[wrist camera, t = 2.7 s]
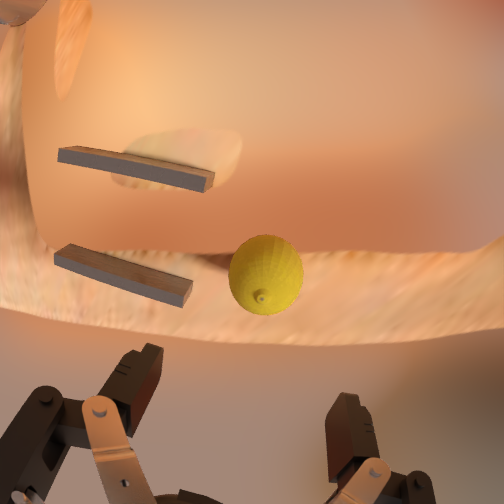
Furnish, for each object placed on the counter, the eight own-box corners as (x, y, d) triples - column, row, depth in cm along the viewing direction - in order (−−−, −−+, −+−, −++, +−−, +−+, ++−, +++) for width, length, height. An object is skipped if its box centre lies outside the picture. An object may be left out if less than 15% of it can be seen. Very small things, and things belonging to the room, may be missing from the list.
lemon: (294, 217, 26) (298, 251, 19) (305, 277, 28) (311, 328, 20) (230, 230, 27) (208, 267, 19) (245, 287, 29) (231, 339, 21)
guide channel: (77, 145, 25) (58, 148, 23) (215, 172, 25) (206, 177, 22) (70, 253, 29) (54, 264, 27) (191, 292, 29) (182, 308, 27)
